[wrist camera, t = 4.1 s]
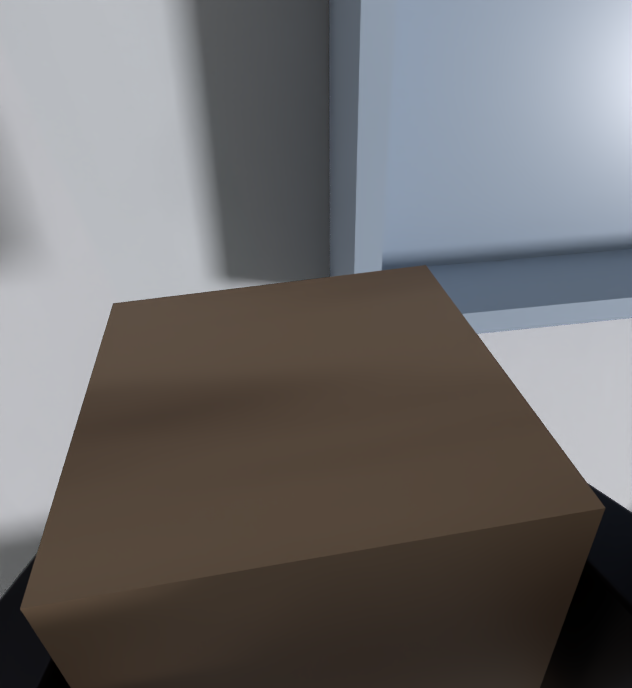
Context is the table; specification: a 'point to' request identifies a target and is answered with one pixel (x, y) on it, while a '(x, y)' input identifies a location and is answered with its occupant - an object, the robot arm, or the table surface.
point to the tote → (486, 152)
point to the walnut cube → (307, 499)
